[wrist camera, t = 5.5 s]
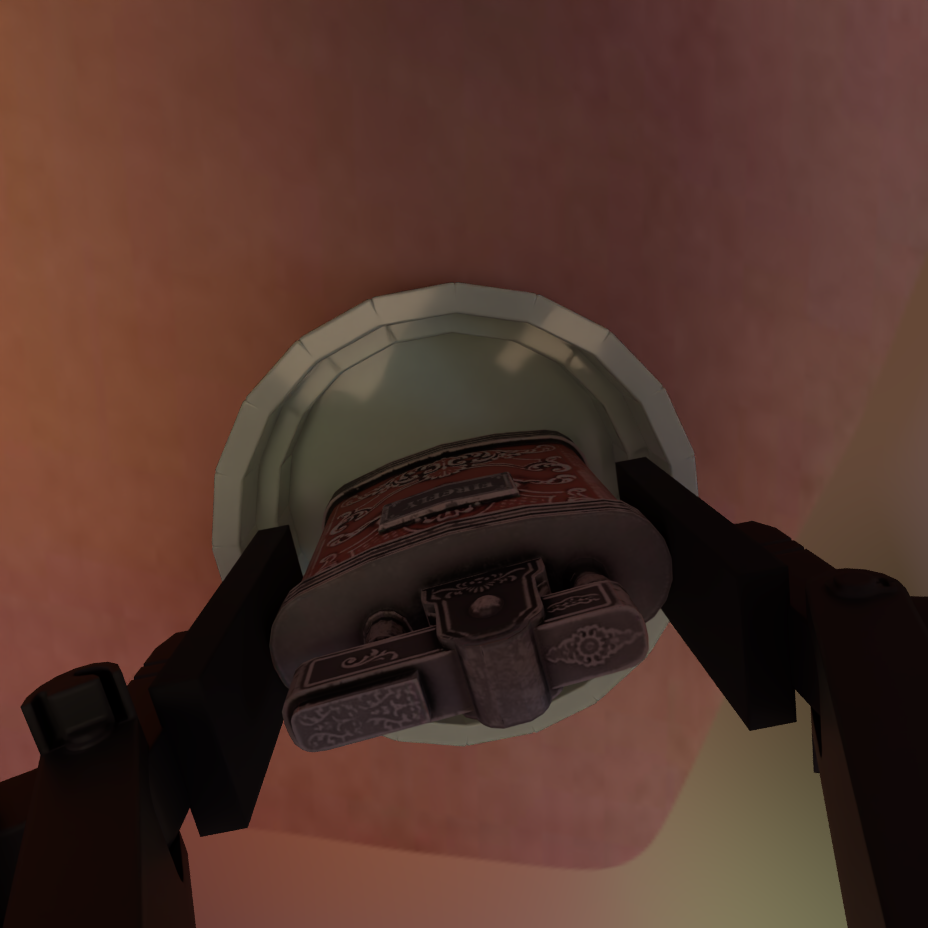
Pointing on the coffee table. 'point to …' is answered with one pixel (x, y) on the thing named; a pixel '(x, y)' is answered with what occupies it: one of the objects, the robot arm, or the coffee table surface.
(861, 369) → the coffee table surface
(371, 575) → the lighter
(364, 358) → the bowl
